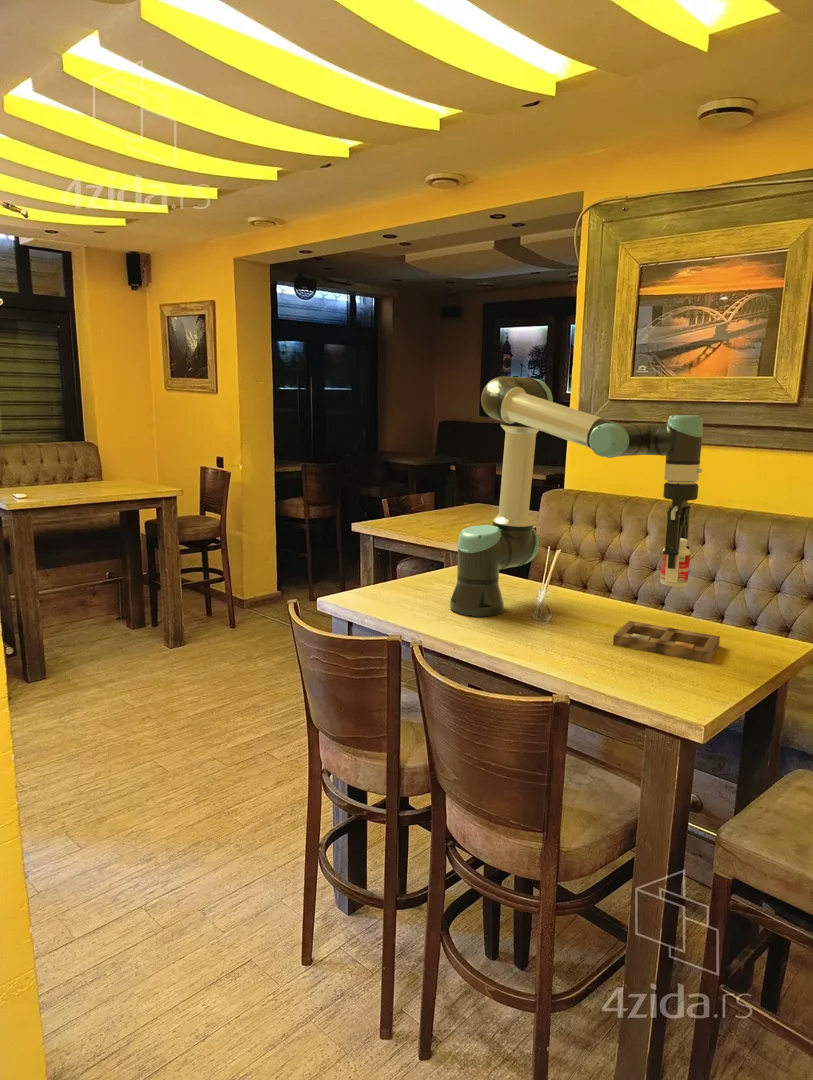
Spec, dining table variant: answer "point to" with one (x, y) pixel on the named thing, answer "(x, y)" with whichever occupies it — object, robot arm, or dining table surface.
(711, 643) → the socket board
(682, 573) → the pill bottle
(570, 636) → the dining table surface
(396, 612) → the dining table surface
